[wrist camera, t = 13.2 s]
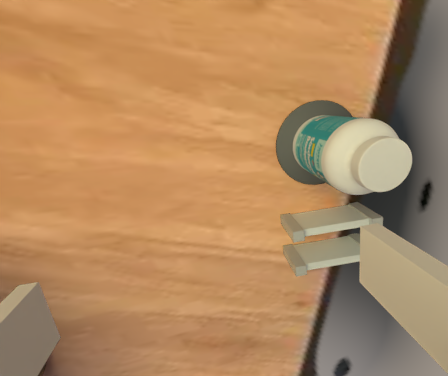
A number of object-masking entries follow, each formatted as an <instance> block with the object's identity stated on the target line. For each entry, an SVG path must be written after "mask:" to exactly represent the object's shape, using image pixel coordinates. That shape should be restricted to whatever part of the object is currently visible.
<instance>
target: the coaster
mask: <svg viewBox="0 0 448 376" xmlns="http://www.w3.org/2000/svg"><path fill="white" fill-rule="evenodd" d="M321 115H330V116H343V117H352V116H351V114H350V113H349V112H348V111H347V110H346V109H345V108H344V107H342V106H341V105H339V104H337V103H334V102H331V101H323V100H321V101H313V102H309V103H306V104H303V105H301V106H300V107H298V108H297V109H295V110H294V111H293V112H292V113H290V114H289V116H288V117H287V118H286V119H285V121H284V122H283V124H282V125H281V127H280V130H279V132H278V136H277V140H276V153H277V158H278V161H279V163H280V165H281V167H282V168H283V170H284V171H285V172H286V173H287V174H288V175H289V176H290V177H291V178H293V179H294V180H296V181H298V182H301V183H304V184H322V183H325V182H324V181H323V180H321V179H320V178H318V177H316V176H315V175H313V174H311V173H310V172H308V171H307V170H305V169H303V168H302V167H301V166H300V165H299V164H298V162H297V161H296V159H295V157H294V154H293V140H294V137H295V134H296V132H297V131H298V129H299V128H300V127H301V125H302V124H303V123H305V122H306V121H307V120H309V119H311V118H313V117H316V116H321Z"/></svg>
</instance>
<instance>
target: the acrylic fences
mask: <svg viewBox="0 0 448 376" xmlns="http://www.w3.org/2000/svg"><path fill="white" fill-rule="evenodd" d="M280 218H281V224H282V226H283V227H284V229H285V230H286V232H287V233H288V235H289V236H290V238H291V239H292V240H293V242H299V241H305V236H311V235H317V234H323V233H329V232H335V231H341V230H347V229H353V228H358V227H360V226H364V225H370V224H376V223H378V224H380V225H382V226H383V217H382V216H380V215H379V214H377V213H375V212H374V211H372V210H370V209H368V208H367V207H365V206H363V205H362V204H360V203H358V202H355V203H349V204H348V205H345V206H339V207H332V208H326V209H320V210H314V211H308V212H302V213H296V214H290V213H288V214H282V215H280ZM283 252H284V255H285V257H286V259H287V261H288V263H289V264H290V266H291V268H292V270H293V271H294V273H295V275H296V276H302V275H307V270H312V269H318V268H323V267H329V266H335V265H341V264H346V263H351V262H358V261H360V235H359V234H358V233H355V234H349V235H348V236H344V237H338V238H333V239H327V240H321V241H315V242H309V243H303V244H297V245H292V244H290V245H284V246H283Z"/></svg>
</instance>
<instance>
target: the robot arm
mask: <svg viewBox="0 0 448 376" xmlns="http://www.w3.org/2000/svg"><path fill="white" fill-rule="evenodd" d="M360 283H361V284H362V285H363V286H364V287H365V288H366V289H367V290H368V291H369V292H370V293H371V294H372V295H373V296H374V298H375V299H376V300H377V301H379V303H380V304H381V305H382V306H383V307H384V308H385V309H386V310H387V311H388V312H389V313H390V314H391V315H392V316H393V317H394V318H395V319H396V320H397V321H398V323H399V324H400V325H401V326H402V327H403V328H404V329H405V330H406V331H407V332H408V333H409V334H410V335H411V336H412V337H413V338H414V339H415V340H416V341H417V342H418V343H419V344H420V345H421V346H422V348H424V350H425V351H426V352H427V353H428V354H429V355H430V356H431V357H432V358H433V359H434V360H435V361H436V362H437V363H438V364H439V365H440V366H441V367H442V368H443V369H444V370H445V371H446V373H447V374H448V266H447V265H445V264H444V263H442V262H440V261H439V260H437V259H435V258H434V257H432V256H430V255H429V254H427V253H426V252H424V251H422V250H421V249H419V248H417V247H416V246H414V245H413V244H411V243H409V242H407V241H406V240H404V239H403V238H401V237H399V236H398V235H396V234H395V233H393V232H391V231H390V230H388V229H386V228H385V227H383V226H382V225H380V224H378V223H376V224H370V225H364V226H360ZM60 338H61V337H60V335H59V332H58V330H57V327H56V325H55V322H54V319H53V317H52V314H51V312H50V309H49V307H48V304H47V302H46V299H45V297H44V294H43V292H42V289H41V287H40V284H39V282H35V283H30V284H24V285H18V286H17V287H16V288H15V289H14V290H13V291H12V292H11V293H10V294H9V295H8V296H7V297H6V298H5V299H4V300H3V301H2V302H1V303H0V376H42V374H43V372H44V370H45V366H46V361H47V359H48V358H49V356H50V354H51V353H52V351H53V349H54V348H55V346H56V344H57V343H58V341H59V339H60Z"/></svg>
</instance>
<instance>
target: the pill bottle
mask: <svg viewBox="0 0 448 376" xmlns="http://www.w3.org/2000/svg"><path fill="white" fill-rule="evenodd" d="M293 154H294V157H295V159H296V161H297V162H298V164H299V165H300V166H301V167H302V168H303V169H305V170H307V171H308V172H310V173H311V174H313V175H315V176H316V177H318V178H320V179H321V180H323V181H324V182H326V183H328V184H329V185H331V186H332V187H334V188H336V189H337V190H339V191H341V192H344V193H347V194H351V195H363V194H368V193H371V192H374V191H375V192H385V191H389V190H391V189H393V188H395V187H397V186H398V185H399V184H400V183H402V182H403V180H404V179H405V178H406V177H407V175H408V173H409V171H410V169H411V165H412V154H411V151H410V149H409V147H408V146H407V145H406V143H404V142H403V141H402V140H400V139H399V138H398V136H397V134H396V133H395V131H394V130H393V129H392V128H391V127H390V126H389V125H387V124H386V123H384V122H382V121H379V120H376V119H369V118H356V117H343V116H330V115H321V116H316V117H313V118H311V119H309V120H307V121H306V122H305V123H303V124H302V125H301V127H300V128H299V129H298V131H297V132H296V134H295V137H294V140H293Z"/></svg>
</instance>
